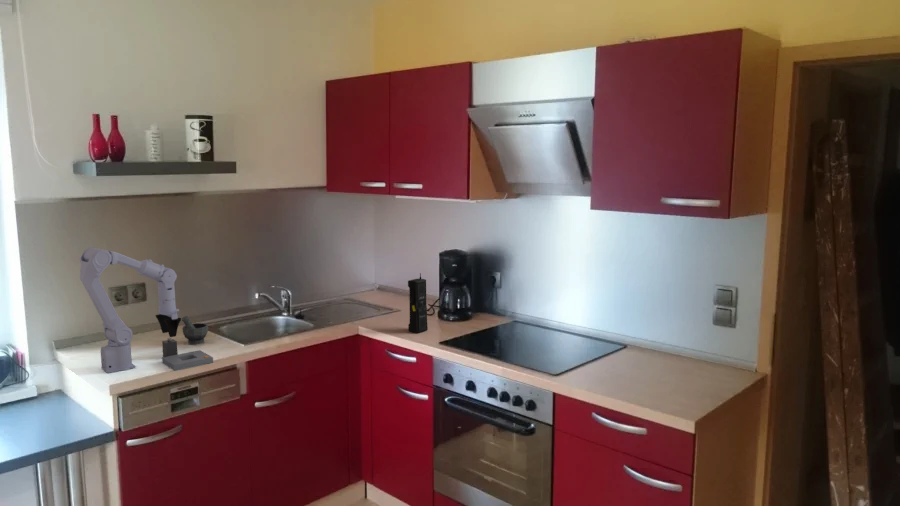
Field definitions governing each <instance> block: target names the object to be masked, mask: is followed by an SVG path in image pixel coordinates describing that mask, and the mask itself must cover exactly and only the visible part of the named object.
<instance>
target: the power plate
mask: <svg viewBox="0 0 900 506" xmlns="http://www.w3.org/2000/svg"><path fill="white" fill-rule="evenodd" d="M161 363H162V364H164V365H165V366H167V367H168V368H170V369H171V370H173V371H178V370H185V369H189V368H195V367H198V366H203V365H206V364H207V365H208V364H212V363H214V357H213V356H211V355H210V354H208V353H206V352H204V351H202V350H200V349H199V350H198V349H197V350H194V351H189V352H184V353H179V354H178V355H173V356H167V357H163V356H162V358H161Z"/></svg>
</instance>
